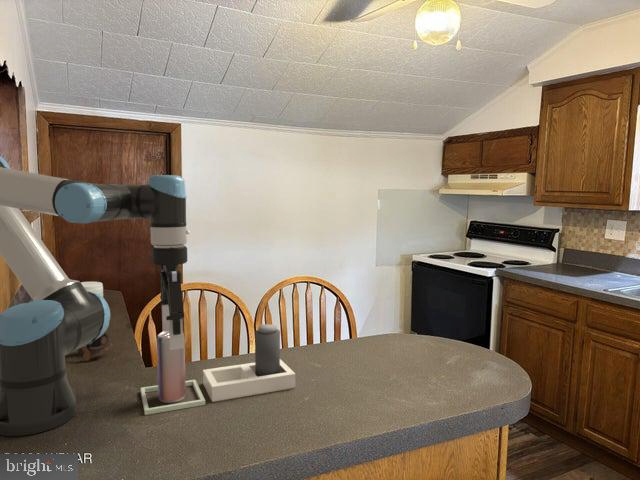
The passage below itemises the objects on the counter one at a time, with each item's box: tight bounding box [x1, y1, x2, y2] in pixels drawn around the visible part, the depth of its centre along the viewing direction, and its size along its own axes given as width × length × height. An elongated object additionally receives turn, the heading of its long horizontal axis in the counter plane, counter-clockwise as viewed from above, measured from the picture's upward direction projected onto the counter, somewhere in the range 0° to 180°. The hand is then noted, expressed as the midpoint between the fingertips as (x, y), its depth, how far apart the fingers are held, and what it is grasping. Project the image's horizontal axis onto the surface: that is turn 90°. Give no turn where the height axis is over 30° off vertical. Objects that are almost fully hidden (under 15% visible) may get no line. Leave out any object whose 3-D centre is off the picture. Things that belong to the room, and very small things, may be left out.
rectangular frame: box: [140, 379, 206, 416], centre depth 108 cm, size 13×13×1 cm
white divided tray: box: [202, 358, 296, 403], centre depth 115 cm, size 20×11×4 cm, turn 114°
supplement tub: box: [80, 281, 104, 298], centre depth 163 cm, size 10×10×15 cm
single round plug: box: [254, 323, 281, 377], centre depth 116 cm, size 6×6×14 cm
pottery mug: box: [76, 331, 114, 362], centre depth 134 cm, size 12×10×8 cm
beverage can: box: [156, 331, 187, 404], centre depth 107 cm, size 6×6×15 cm
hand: (172, 339), depth 106 cm, fingers open, 13 cm apart
